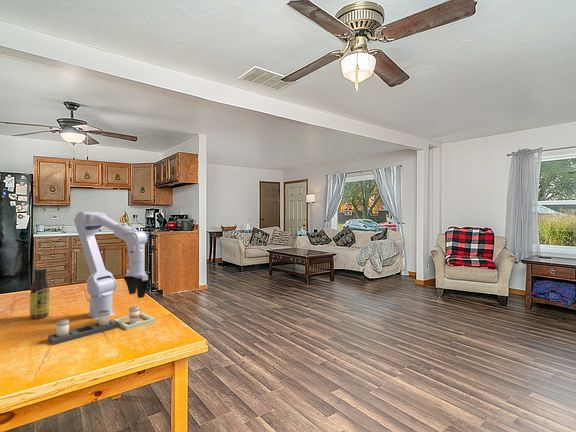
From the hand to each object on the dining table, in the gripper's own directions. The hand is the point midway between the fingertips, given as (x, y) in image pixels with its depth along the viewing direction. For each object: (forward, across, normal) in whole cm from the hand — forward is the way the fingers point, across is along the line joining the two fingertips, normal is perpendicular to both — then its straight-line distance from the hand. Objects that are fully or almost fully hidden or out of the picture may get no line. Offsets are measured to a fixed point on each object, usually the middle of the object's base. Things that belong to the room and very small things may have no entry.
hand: (136, 295), depth 128 cm
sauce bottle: (+11, -34, -24) cm, 43 cm away
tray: (+10, +2, -2) cm, 11 cm away
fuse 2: (+10, 0, -12) cm, 15 cm away
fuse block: (+10, 0, -18) cm, 21 cm away
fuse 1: (+10, 0, -25) cm, 27 cm away
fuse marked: (+10, +2, -2) cm, 10 cm away
